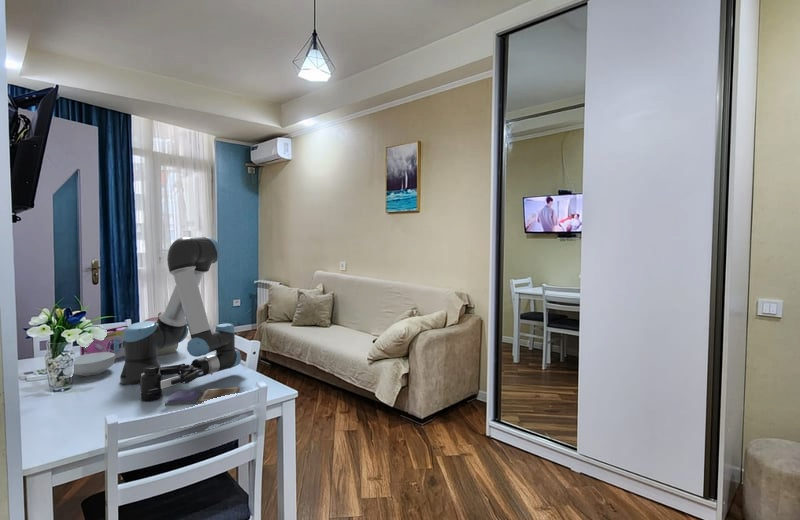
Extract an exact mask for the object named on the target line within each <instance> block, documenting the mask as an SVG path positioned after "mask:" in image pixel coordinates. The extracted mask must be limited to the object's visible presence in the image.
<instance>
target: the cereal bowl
mask: <svg viewBox="0 0 800 520" xmlns="http://www.w3.org/2000/svg"><path fill="white" fill-rule="evenodd" d="M74 357H75V361H74V373H73V374H74V375H79V376H80V375H81V376H82V375H83V376H82V377H90V376H91V375H92V376H97V375H100V374H103V373H104V372H105V371H106V370H108V369H110V368H111V367H112V366H113V365H114V364H115V362H116V361H115V360H116V358H115V354H114V353H110V352H100V353H91V354H85V355H81V356H80V355H77V356H74ZM92 376H91V377H92Z"/></svg>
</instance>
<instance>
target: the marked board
mask: <svg viewBox="0 0 800 520" xmlns="http://www.w3.org/2000/svg"><path fill="white" fill-rule="evenodd" d="M239 391H240V386H232V387H231V386H230V387H219V388H205V390H204V391H203V392H202V395H201V396H200V397H199V399H198V400H197V402H196V403H197V404H198V403H201V404H203V403H202V402H204V401H207V400H210V399H213V398H217V397H221V396H225V395H230V394H235V393H237V394H238V393H239ZM198 405H199V404H198Z"/></svg>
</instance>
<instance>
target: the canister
mask: <svg viewBox="0 0 800 520" xmlns="http://www.w3.org/2000/svg"><path fill="white" fill-rule="evenodd" d="M163 312H164V311H161V312H158V315H157V316H156V317H155V316H154V317H149V318H146V319H144V321H153V322H155V323H156V322H157V320H158V317H159V315H160V314H161V313H163ZM178 348H179V343H178V344H175V345H172V346H168V347H165V348H161V349H158V350H157V356H163V355H164V356H165V355H169V354H173V353H174V352H176V351H178V350H177V349H178Z"/></svg>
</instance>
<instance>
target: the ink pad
mask: <svg viewBox="0 0 800 520" xmlns="http://www.w3.org/2000/svg"><path fill="white" fill-rule="evenodd" d="M202 394H203V390H200V389H197V390H196V389H195V390H181V391H174V392H173V393H172V394H171V395H170V397H169V398H168V399H167V400H166V401H165V403H164V406H165V407H166V406H179V405H180V406H181V405H195V404H196V403H197V401H198V400H199V399H200V397H201V396H202Z"/></svg>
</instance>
